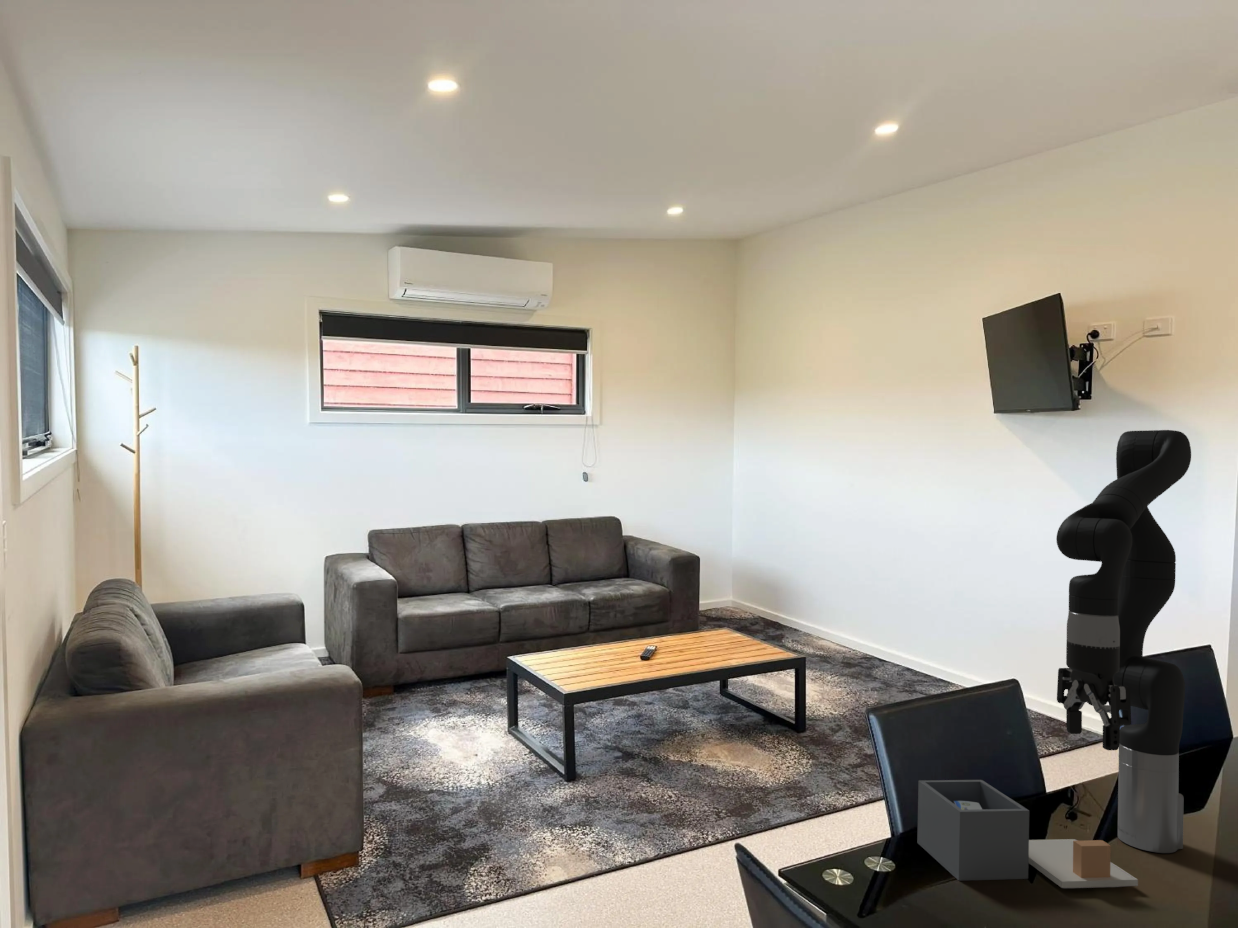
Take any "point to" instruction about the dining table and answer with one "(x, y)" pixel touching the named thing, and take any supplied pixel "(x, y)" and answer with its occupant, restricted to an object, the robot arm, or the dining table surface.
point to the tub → (973, 830)
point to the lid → (1078, 863)
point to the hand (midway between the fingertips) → (1091, 740)
